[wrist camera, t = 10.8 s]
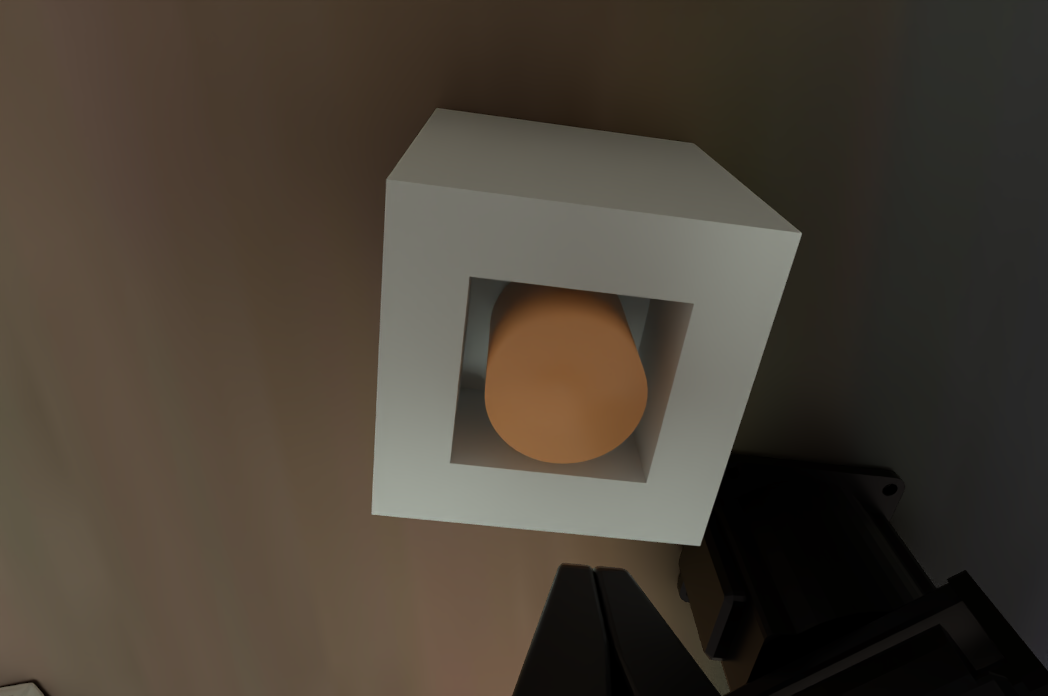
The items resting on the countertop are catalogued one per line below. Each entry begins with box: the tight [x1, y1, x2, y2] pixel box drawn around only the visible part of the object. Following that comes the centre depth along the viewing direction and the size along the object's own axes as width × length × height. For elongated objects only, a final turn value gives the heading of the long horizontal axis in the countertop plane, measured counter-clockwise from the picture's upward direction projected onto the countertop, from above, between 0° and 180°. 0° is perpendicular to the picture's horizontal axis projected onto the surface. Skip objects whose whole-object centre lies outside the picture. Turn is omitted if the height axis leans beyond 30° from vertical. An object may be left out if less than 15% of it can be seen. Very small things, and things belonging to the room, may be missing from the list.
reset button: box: [485, 282, 648, 464], centre depth 14 cm, size 3×3×3 cm
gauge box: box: [372, 108, 802, 546], centre depth 17 cm, size 7×7×8 cm
